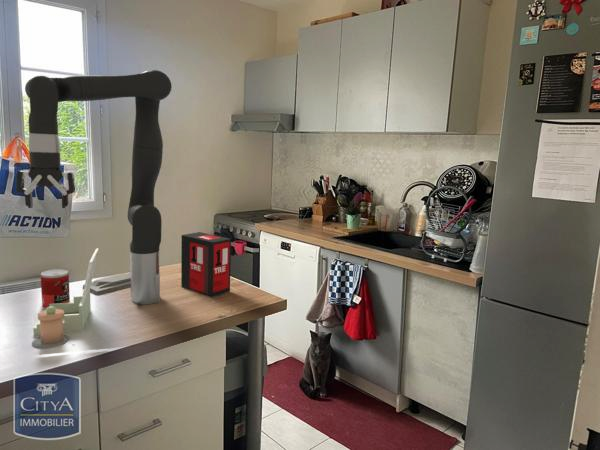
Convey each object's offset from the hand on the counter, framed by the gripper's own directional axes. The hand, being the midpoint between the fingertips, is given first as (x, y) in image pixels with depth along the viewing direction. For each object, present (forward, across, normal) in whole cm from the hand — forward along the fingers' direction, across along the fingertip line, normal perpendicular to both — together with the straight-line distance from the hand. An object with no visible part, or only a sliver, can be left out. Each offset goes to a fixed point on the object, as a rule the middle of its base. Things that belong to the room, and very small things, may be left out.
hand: (47, 207), depth 126 cm
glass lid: (+19, +11, -6) cm, 22 cm away
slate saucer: (+33, +3, -19) cm, 38 cm away
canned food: (+33, -1, +10) cm, 35 cm away
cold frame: (+33, +4, -6) cm, 34 cm away
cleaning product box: (+33, +47, +18) cm, 60 cm away
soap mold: (+34, +15, +28) cm, 47 cm away
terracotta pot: (+32, +3, -19) cm, 38 cm away
